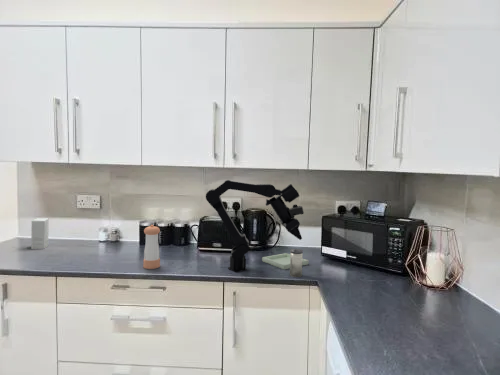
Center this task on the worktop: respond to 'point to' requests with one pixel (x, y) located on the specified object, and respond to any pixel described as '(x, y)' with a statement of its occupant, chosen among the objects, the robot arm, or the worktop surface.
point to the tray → (281, 261)
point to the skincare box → (39, 233)
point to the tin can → (296, 262)
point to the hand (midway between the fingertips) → (299, 237)
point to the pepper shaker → (151, 248)
